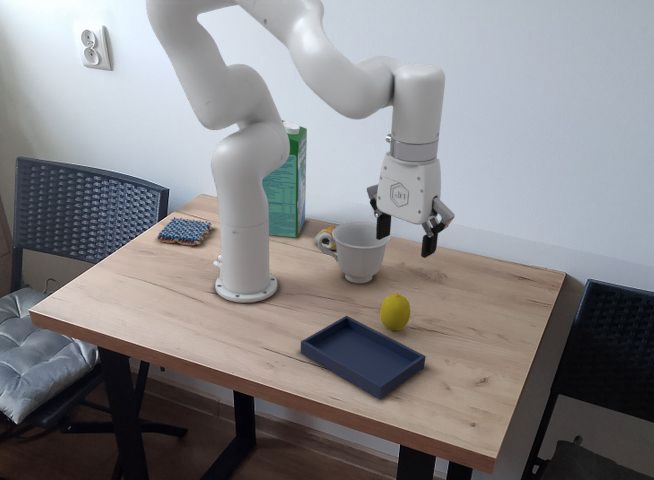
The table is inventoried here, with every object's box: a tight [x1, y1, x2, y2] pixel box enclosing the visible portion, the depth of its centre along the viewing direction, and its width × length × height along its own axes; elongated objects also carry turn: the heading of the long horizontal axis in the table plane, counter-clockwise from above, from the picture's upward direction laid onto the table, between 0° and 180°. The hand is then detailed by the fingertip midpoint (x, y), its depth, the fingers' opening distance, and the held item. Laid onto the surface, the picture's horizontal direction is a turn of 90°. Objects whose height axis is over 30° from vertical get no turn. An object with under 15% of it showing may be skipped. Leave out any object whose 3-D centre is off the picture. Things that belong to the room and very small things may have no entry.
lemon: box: [379, 293, 411, 332], centre depth 129 cm, size 6×6×8 cm
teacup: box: [316, 220, 392, 284], centre depth 145 cm, size 12×15×10 cm
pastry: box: [314, 226, 337, 251], centre depth 160 cm, size 9×7×4 cm
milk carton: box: [262, 119, 308, 239], centre depth 160 cm, size 9×9×25 cm
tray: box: [300, 315, 427, 400], centre depth 123 cm, size 18×12×3 cm
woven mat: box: [156, 216, 213, 246], centre depth 162 cm, size 10×11×2 cm
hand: (404, 245), depth 121 cm, fingers open, 9 cm apart
